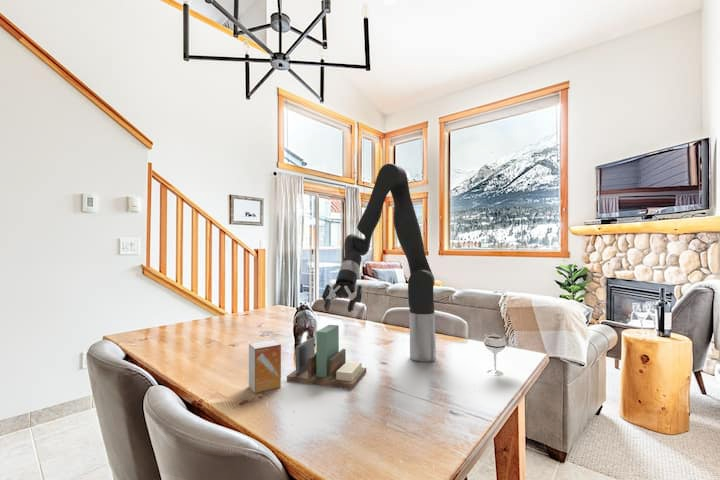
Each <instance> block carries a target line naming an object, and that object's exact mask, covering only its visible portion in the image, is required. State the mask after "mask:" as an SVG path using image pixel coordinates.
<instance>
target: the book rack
mask: <svg viewBox="0 0 720 480" xmlns="http://www.w3.org/2000/svg"><path fill="white" fill-rule="evenodd" d="M346 351H347V350H346V348H342V349H341V350H339V352H338V353H337V354H336V355H335V356H333V357H332V358H331V359H330V360H329V376H328V377H327V378H325V377H317V370H316V352H314V354H313V355H312V356H310V357H309V358H308V369H307V370H306V371H305V372H303V373H302V374H301V375H299V376H298V375H296V369H295V370H293V371H292V372H290V373H289V374H288V375H286V382H293V383H300V384H308V385H314V386H315V385H317V386H324V387H331V388H338V389H339V388H341V389H347V390H354V389H355V388H356V386H357V385H358V384H359V382H360V381H361V380H362V379H363V377H365V375H366V374H367V367H362V370H361V371H360V372H359V373H358V375H357V376H356V377H355V378H354V379H353V380H352V381H346V380H337V379H336V371H337V370H338V369H339V368H341V367H342V366H343V365H344V364H345V363H346V362H347V361H346V360H347V359H346V357H347V356H346Z"/></svg>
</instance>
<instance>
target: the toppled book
mask: <svg viewBox="0 0 720 480" xmlns="http://www.w3.org/2000/svg"><path fill="white" fill-rule="evenodd" d="M362 365H363V363H362V362H361V361H351V360H347V361H346V363H345V364H344V365H343V366H342V367H341V368H339V369H338V370H337V371H336V379H337V380H346V381H352V380H353V379H354V378H355V377H356V376H357V375H358V373H359V372H360V371H361V370H362V368H363V367H362Z"/></svg>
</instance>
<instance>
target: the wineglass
mask: <svg viewBox="0 0 720 480" xmlns="http://www.w3.org/2000/svg"><path fill="white" fill-rule="evenodd" d="M483 336H484V340H483V344H484V346H485V347H486V349H487V350H488V351H490V352H492V353H493V361H494V366H493V367H494V369H489V370H487V372H486V373H488V374H489V375H493V376H503V375H504V372H502V371H500V370H497V354H498V353H500V352H502V351H503V350H504V349H505V348H506V347H507V346H506V345H507V341H506V340H505V339H506V336H505V335H504V334H499V333H485V334H484V335H483Z"/></svg>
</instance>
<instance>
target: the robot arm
mask: <svg viewBox="0 0 720 480" xmlns="http://www.w3.org/2000/svg"><path fill="white" fill-rule="evenodd" d="M389 193H390V194H391V198H392V201H393V225H394V227H393V228H394V229H395V233H396V238H397V240H398V242H399V245H400V248H401V249H402V251H403V253H404V255H405V257H406V260H407V265H408V269H409V273H410V274H409V277H408V281H407V297H408V299H407V300H408V301H407V302H408V307H409V308H408V309H409V358H410V359H411V360H413V361H416V362H421V363H422V362H423V363H426V362H435V360H436V354H437V353H436V352H437V349H436V330H435V329H436V328H435V303H434V301H435V300H434V285H435V277H434V274H433V272H432V269H431V267H430V264H429V262H428V259H427V255H426V251H425V246H424V240H423V235H422V233H421V232H422V231H421V228H420V224H419V220H418V217H417V214H416V211H415V207H414V204H413V201H412V197H411V193H410V187H409V181H408V175H407V173H406V171H405V169H404V168H403V167H402V166H399V165H397V164H395V163H390V162H389V163H385V164H384V165H382V166H381V167H380V169H379V171H378V173H377V176H376V179H375V182H374V186H373V188H372V192H371V193H370V194H371V195H370V197H369V200H368V203H367V205H366V207H365V209H364V212H363V213H362V214H361V215H362V216H361V217H360V219H359V222H358V224H357V226H356V229H357V230H358V231H359V233H361V234H362V235H363V236H364V238H363V237H362V236H359V235H357V234H354V233H350V234H348V235H347V236H346V237H345V239H344V242H343V243H344V245H343V246H344V247H343V248H344V257H343V260H342V263H341V265H340V267H339V270H338V273H337V276H336V280H335V284H334V285H333V286H331V285H330V284H326V286H325V288H324V291H323V293H322V295H321V298H322V299H323V302H324V304H323V308H324V309H325V311H326V312H329V310H330V307H331V305H332V302H334V301H336V300H337V299H342V298H344V299H348V298H349V302H348V306H347V312H348V313H352V311H353V310H354V307H355V304H356V303H358V304H359V303H361V302H362V297H363V296H362V295H363V291H364V290H363V288H362V285H359V284H358V286H356V285H357V280H358V278H359V273H360V267H361V263H362V261H363V260H362V259H363V258H362V256H366V255H367V253H368V252H369V250H370V247H371V246H370V245H371V241H372V236H373V234H374V231H375V230H376V228H377V225H378V224H379V221H380V219H381V217H382V212H383V208H384V203H385V200H386V198H387V196H388V194H389ZM355 292H356V296H355V297H354V296H353V293H355Z"/></svg>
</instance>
